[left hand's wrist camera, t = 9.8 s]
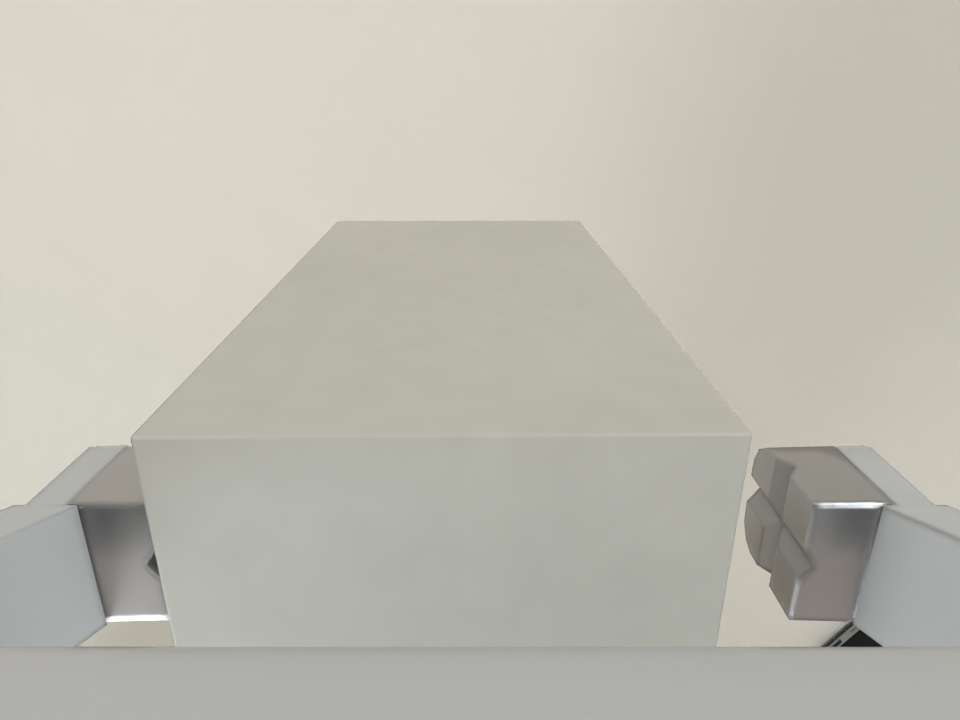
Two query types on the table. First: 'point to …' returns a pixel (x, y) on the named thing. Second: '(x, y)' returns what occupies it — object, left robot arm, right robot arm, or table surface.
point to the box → (445, 455)
